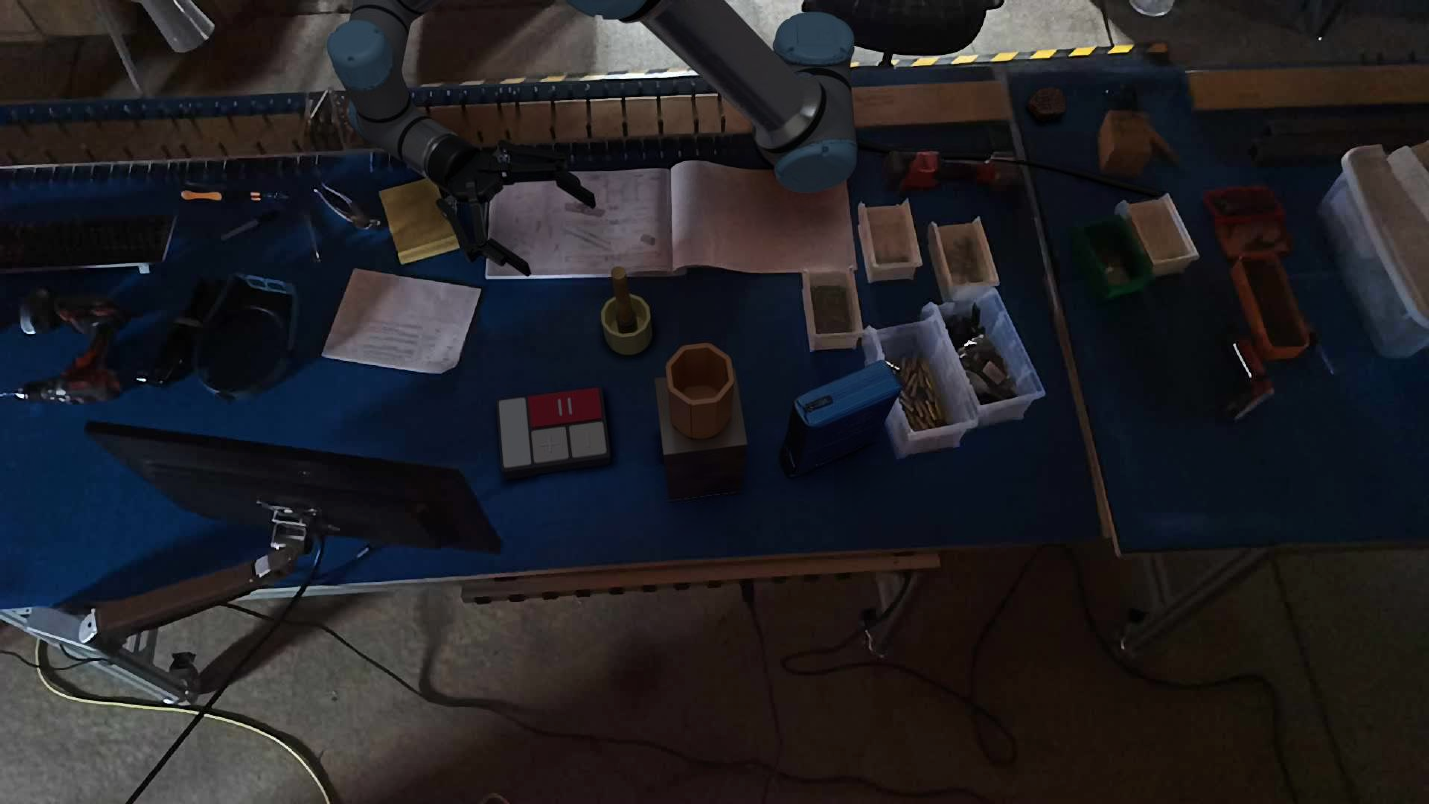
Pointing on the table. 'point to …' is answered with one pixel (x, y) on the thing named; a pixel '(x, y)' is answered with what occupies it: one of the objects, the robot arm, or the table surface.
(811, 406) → the book
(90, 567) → the table surface
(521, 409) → the button panel
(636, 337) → the rinse cup
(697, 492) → the stand
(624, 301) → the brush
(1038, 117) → the stone
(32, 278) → the table surface
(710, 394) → the octagonal pencil cup
